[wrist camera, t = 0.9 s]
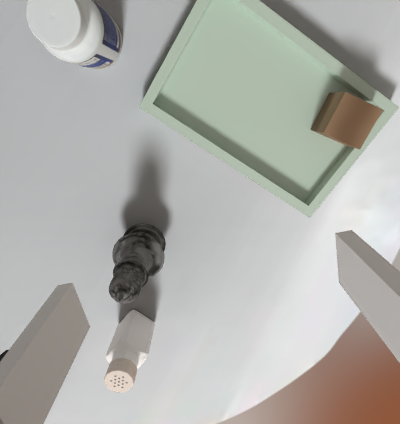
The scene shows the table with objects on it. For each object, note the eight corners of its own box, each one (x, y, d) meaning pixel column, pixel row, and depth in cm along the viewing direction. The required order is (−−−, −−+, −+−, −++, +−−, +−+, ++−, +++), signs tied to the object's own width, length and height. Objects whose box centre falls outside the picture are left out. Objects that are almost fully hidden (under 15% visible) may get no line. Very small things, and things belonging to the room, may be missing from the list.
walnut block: (310, 129, 34) (323, 133, 30) (329, 92, 33) (345, 91, 29) (342, 144, 34) (359, 149, 31) (362, 108, 33) (383, 109, 29)
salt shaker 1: (124, 216, 38) (90, 265, 27) (172, 227, 39) (158, 280, 27) (116, 258, 40) (82, 321, 29) (162, 269, 40) (145, 334, 29)
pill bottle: (85, -3, 31) (34, -47, 22) (132, 32, 32) (103, 4, 23) (60, 48, 32) (2, 27, 23) (106, 81, 33) (69, 73, 24)
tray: (142, 106, 34) (138, 107, 32) (214, -26, 30) (215, -34, 28) (304, 211, 38) (309, 217, 36) (388, 106, 34) (398, 107, 32)
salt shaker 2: (140, 340, 44) (123, 401, 35) (116, 325, 43) (93, 383, 34) (157, 321, 43) (144, 379, 34) (132, 306, 42) (113, 361, 33)
